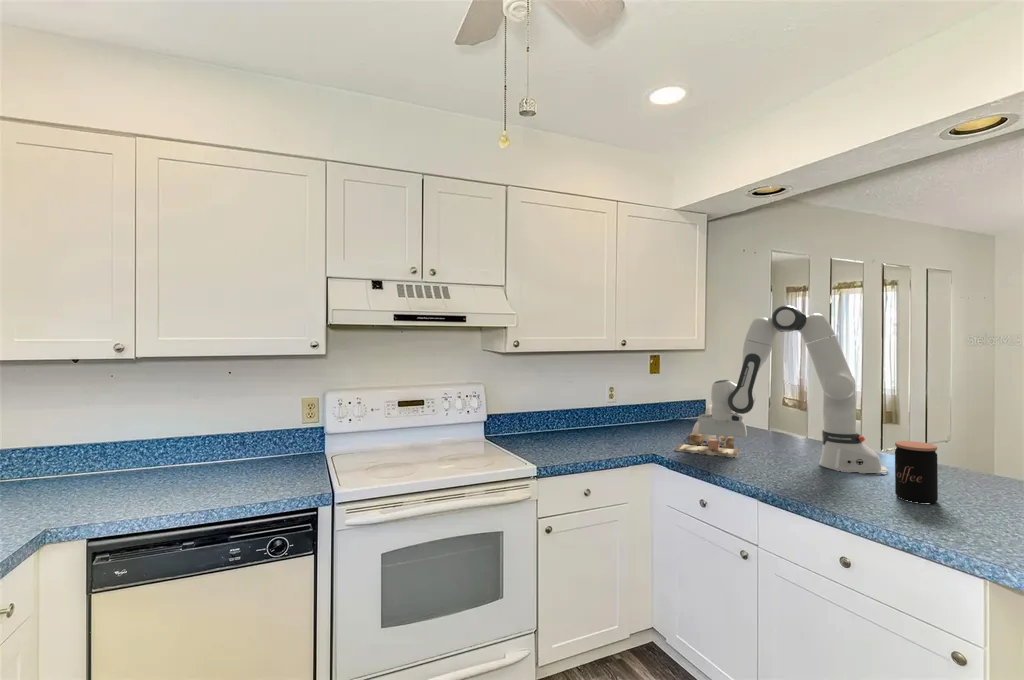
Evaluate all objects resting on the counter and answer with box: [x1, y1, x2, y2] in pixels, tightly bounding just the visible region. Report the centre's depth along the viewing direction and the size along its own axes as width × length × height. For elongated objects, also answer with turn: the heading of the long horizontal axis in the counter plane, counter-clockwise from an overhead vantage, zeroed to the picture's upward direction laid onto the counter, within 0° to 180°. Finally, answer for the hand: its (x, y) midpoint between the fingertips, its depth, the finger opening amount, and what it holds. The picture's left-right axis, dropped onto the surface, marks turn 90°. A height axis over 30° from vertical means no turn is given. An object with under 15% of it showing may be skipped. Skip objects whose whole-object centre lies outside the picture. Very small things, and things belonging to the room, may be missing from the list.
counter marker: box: [707, 439, 720, 451], centre depth 221 cm, size 4×7×4 cm, turn 150°
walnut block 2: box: [720, 436, 735, 449], centre depth 233 cm, size 5×5×5 cm
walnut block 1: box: [689, 432, 704, 446], centre depth 240 cm, size 5×5×5 cm
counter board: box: [675, 443, 740, 459], centre depth 224 cm, size 26×10×2 cm, turn 60°
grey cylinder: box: [705, 435, 716, 446], centre depth 237 cm, size 5×5×6 cm
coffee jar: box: [894, 440, 939, 504], centre depth 157 cm, size 11×11×18 cm
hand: (722, 445), depth 220 cm, fingers closed
